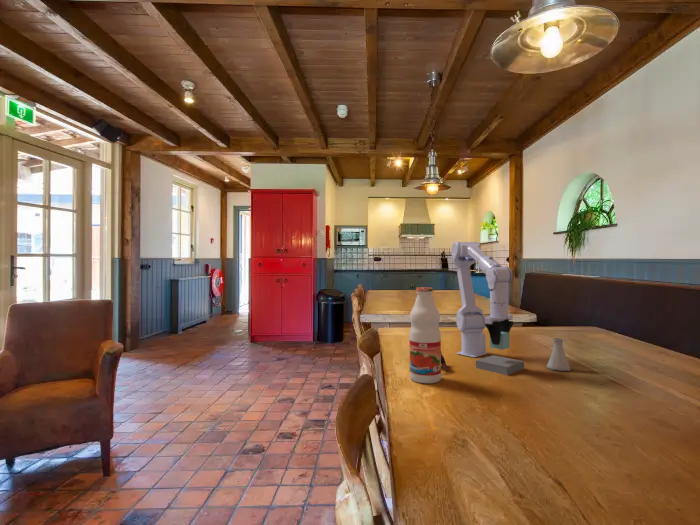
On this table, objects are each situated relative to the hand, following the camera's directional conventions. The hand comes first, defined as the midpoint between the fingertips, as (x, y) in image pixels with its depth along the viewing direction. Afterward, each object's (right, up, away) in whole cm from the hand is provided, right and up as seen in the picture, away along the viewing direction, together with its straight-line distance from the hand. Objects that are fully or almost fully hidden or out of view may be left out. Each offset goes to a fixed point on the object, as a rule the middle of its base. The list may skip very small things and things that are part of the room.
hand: (499, 343), depth 125 cm
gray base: (0, -9, 0) cm, 9 cm away
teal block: (0, -1, 0) cm, 1 cm away
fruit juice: (-27, -9, -11) cm, 31 cm away
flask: (+19, -9, -1) cm, 21 cm away
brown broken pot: (-22, -9, +1) cm, 24 cm away
